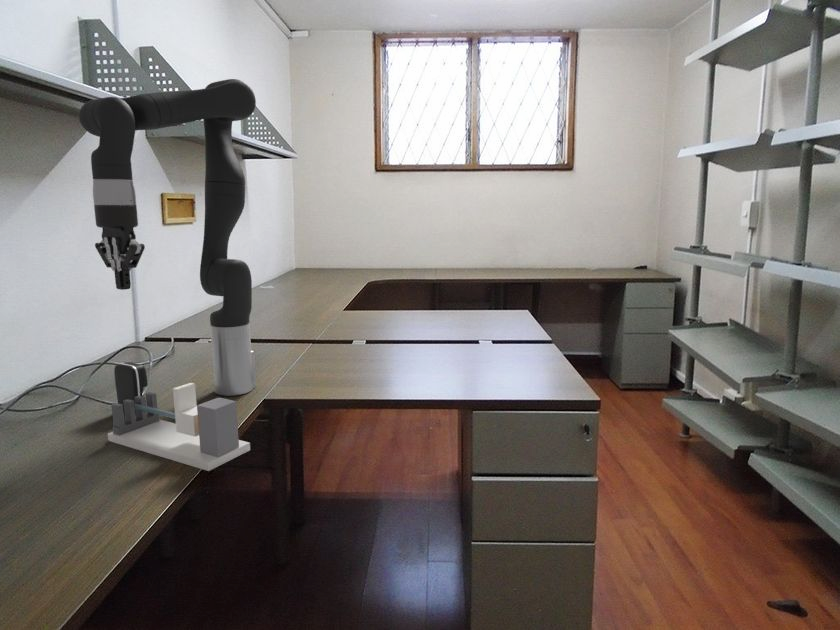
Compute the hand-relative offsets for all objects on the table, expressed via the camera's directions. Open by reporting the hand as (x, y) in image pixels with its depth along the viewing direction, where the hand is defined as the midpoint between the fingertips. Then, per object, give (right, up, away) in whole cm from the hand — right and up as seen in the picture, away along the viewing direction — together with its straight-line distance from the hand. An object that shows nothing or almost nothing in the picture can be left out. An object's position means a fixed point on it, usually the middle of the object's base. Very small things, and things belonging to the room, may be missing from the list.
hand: (123, 288), depth 116 cm
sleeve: (+18, -27, -9) cm, 34 cm away
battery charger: (-3, -28, +12) cm, 30 cm away
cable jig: (+14, -31, -6) cm, 34 cm away
